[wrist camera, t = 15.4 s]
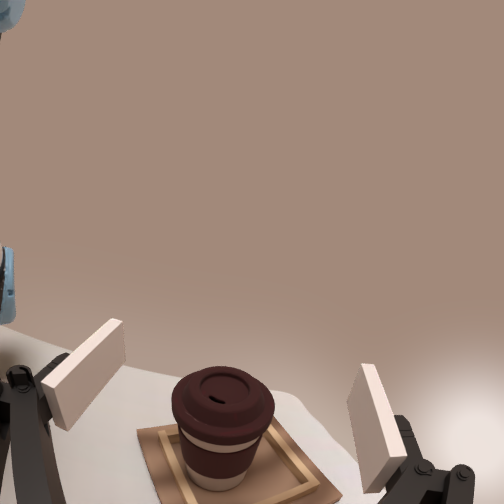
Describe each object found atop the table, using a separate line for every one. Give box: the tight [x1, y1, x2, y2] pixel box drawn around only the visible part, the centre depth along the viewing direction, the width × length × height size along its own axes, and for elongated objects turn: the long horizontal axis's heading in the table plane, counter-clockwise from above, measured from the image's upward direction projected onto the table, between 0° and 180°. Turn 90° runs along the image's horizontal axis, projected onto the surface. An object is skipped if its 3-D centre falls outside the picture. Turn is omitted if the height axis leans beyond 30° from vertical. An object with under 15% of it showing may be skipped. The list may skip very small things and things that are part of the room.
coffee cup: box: [172, 366, 275, 491], centre depth 29 cm, size 10×10×15 cm
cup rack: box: [137, 416, 343, 504], centre depth 31 cm, size 20×20×4 cm
